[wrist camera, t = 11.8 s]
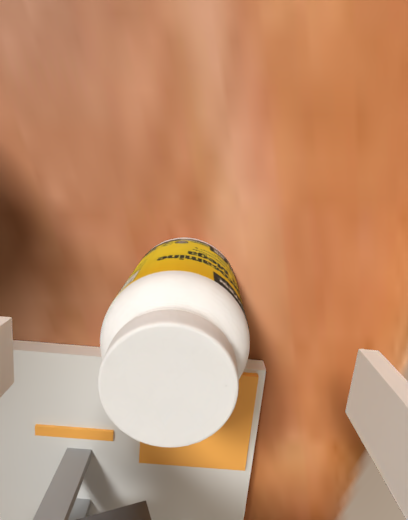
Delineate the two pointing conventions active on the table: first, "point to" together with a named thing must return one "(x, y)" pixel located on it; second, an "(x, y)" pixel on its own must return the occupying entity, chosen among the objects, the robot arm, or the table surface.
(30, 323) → the table surface
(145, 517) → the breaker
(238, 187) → the table surface
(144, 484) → the breaker panel
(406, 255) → the table surface
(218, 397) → the pill bottle
